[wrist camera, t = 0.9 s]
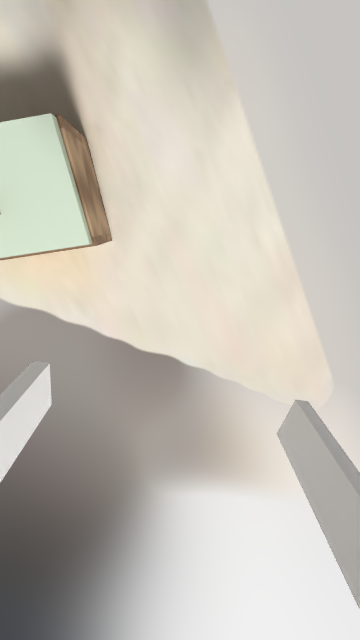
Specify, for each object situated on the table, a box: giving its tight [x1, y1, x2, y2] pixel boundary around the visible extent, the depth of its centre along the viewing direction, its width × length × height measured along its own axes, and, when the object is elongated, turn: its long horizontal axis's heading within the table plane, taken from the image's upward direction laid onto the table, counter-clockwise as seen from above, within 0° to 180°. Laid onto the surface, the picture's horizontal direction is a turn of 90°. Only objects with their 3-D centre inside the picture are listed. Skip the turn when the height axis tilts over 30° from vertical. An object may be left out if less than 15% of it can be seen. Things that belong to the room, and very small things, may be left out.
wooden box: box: [0, 115, 112, 260], centre depth 27 cm, size 12×18×7 cm, turn 98°
